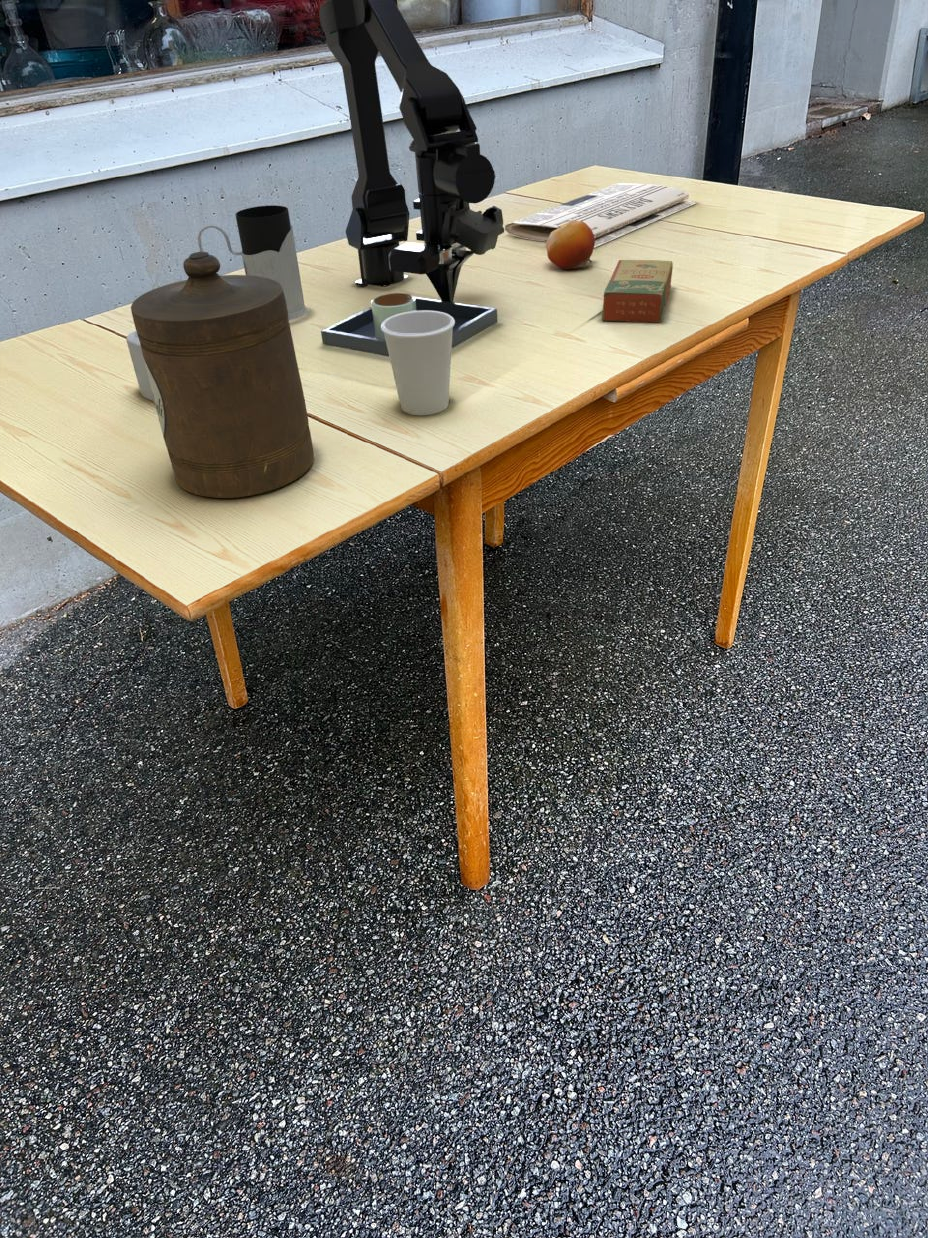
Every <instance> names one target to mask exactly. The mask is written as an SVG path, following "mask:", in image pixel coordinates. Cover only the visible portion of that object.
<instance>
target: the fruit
mask: <svg viewBox="0 0 928 1238" xmlns="http://www.w3.org/2000/svg"><path fill="white" fill-rule="evenodd" d="M545 243H546V244H545V249H546V254H547V259H548V260H549V261H550V262H551V263H552V264H553V265H554V266H555V267H557V268H559V269H562V270H566V271H567V270H573V269H577V268H586V269H587V264H588V262H590V263H593V261H592V260H591V256H593V253H594V249H595V248H594V245H595V238H594V234H593V232H592V230H591V229H590V227H589V226H588V225H587V224H586V223H584V222H583V221H570V222H567V223H566V224H563V225H562V226H560V227H558V229H556V230H554V231H552V232H551V234H550V236H549V238H548V240H547V242H545Z"/></svg>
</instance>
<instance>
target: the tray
mask: <svg viewBox="0 0 928 1238" xmlns="http://www.w3.org/2000/svg"><path fill="white" fill-rule="evenodd" d="M414 297H415V298H416V307H417V311H420V310H430V311H439V312H443V313H446V314H449V315H450V316H452V317H453V318H454V320H455V324H454V326H453V332H452V349H454V348H455V347H457V346H459V345H460V344H462V343H464V342H465V341H467V340H469V339H471V338H472V337H474V336H476V335H477V334H479V333H481V332H482V331H485V330H486V329H488V328H489V327H491V326H494V325H495V324H497V323H498V308H497V307H496V308H495V307H488V306H483V305H482V306H481V305H473V304H468V303H462V302H454V301H453V302H448V301H442V300H441V299H433V298H426V297H420V296H414ZM320 334H321V335H320V336H321V341H322V344H323V345H326V346H332V347H337V348H342V349H348V350H353V351H359V352H364V353H370V354H374V355H379V356H385V357H389V353H388V349H387V344H386V340H384V339H378V338H375V331H374V322H373V313H372V305H371V306H370V307H367V308H365V309H363V310H361V311H359V312H357V313H354V314H352V315H351V316H349V317H346V318H344V319H342V320H340V321H338V322H336V323H334V324H332V325H329V326H328V327H326V328H324V329H322V330H320Z"/></svg>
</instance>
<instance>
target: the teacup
mask: <svg viewBox="0 0 928 1238" xmlns="http://www.w3.org/2000/svg"><path fill="white" fill-rule="evenodd" d="M415 297H416V296H415V295H413V294H410V293H403V292H402V293H401V292H397V293H395V292H393V293H387V294H382V295H378V296H376V297H374V298H373V299H372V300H371V301H370V303H371V304H370V305H371V306H372V313H373V322H374V331H375V338H378V339H384V340H385V336H384V332H383V331H382V330H381V324H382V323H383V322H384V321H385V320H386V319H387V318H389V317H391V316H393V315H396V314H400V313H404V312H410V311H417V307H416V298H415Z"/></svg>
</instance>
